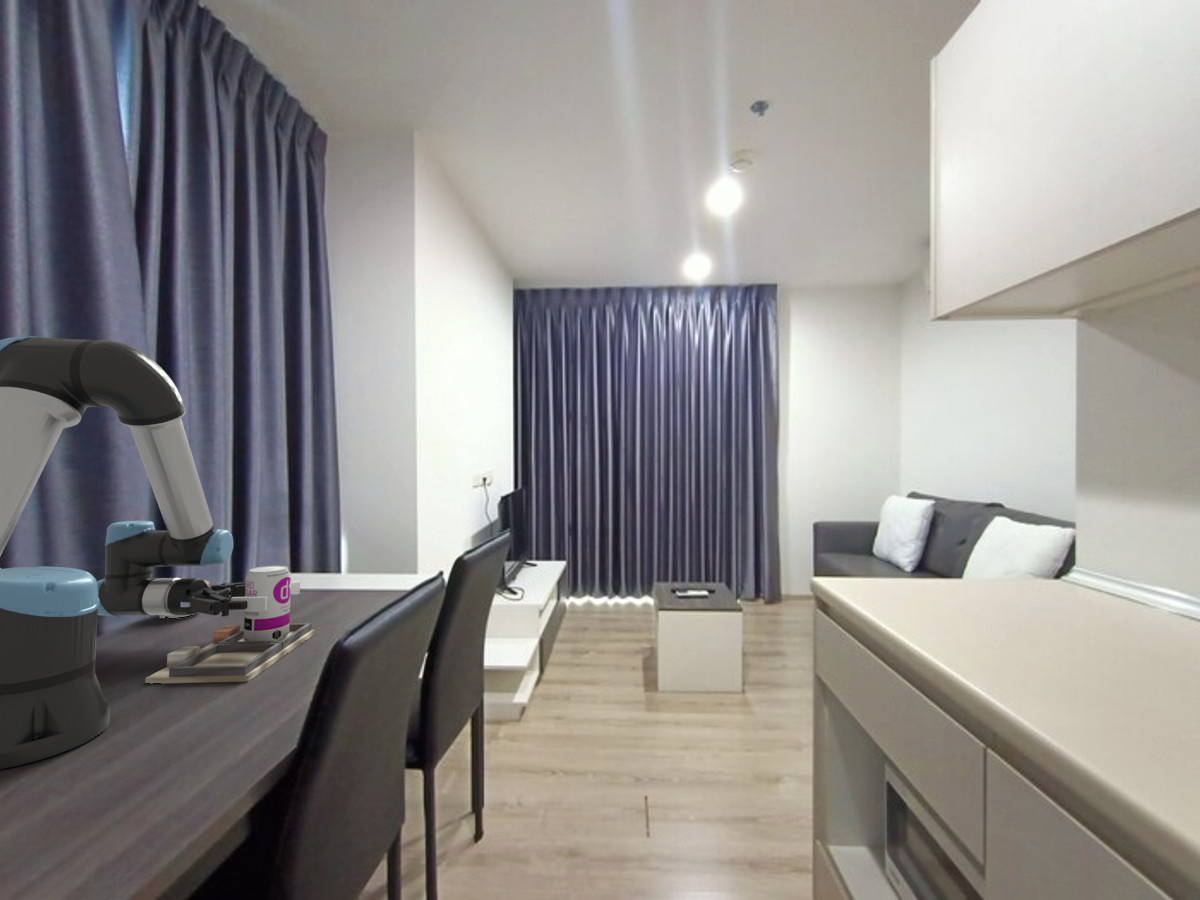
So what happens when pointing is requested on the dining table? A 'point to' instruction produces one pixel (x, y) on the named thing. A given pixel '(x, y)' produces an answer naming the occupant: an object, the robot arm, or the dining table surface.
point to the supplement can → (268, 603)
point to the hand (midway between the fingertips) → (283, 595)
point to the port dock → (228, 657)
